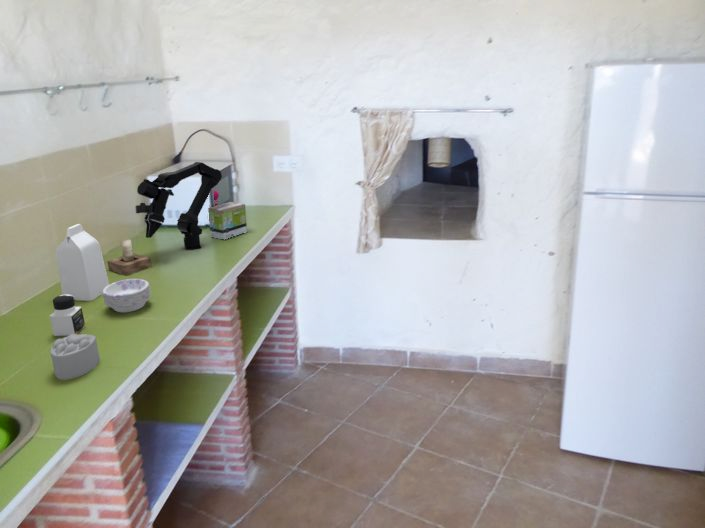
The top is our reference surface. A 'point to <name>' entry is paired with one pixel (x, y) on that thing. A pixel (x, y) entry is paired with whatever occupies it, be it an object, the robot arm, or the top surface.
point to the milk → (81, 265)
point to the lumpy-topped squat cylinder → (74, 355)
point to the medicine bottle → (66, 316)
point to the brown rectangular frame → (129, 264)
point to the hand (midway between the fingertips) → (148, 237)
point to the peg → (127, 250)
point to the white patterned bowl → (127, 295)
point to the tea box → (227, 220)
